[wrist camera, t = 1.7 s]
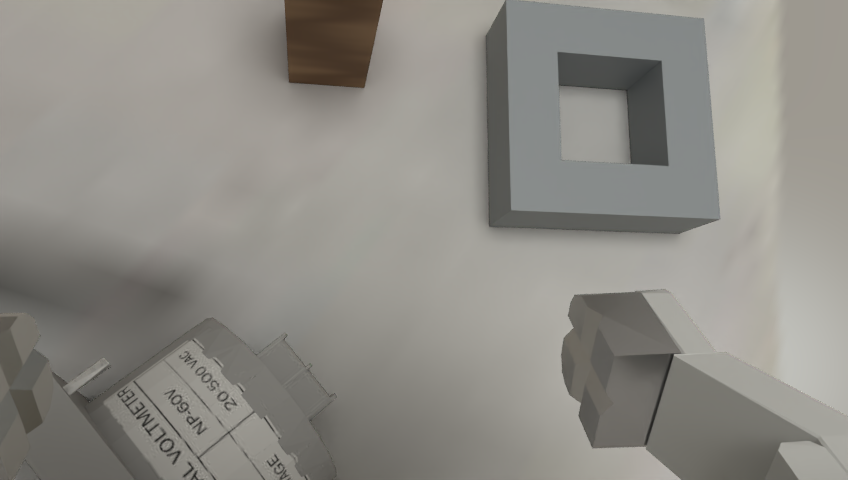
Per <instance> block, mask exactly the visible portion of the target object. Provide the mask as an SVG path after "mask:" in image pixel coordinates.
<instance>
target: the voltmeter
mask: <svg viewBox="0 0 848 480" xmlns="http://www.w3.org/2000/svg"><path fill="white" fill-rule="evenodd" d="M287 336H288V335H287V334H286V333H284V334H283V335H281V336H280V337H279V338H278V339H276V340H275V341H274V342H273V343H271V344H270V345H269V346H267V347H266V348H265V349H264V350H262V351H261V352H260V353H258V354H257V355H255V354H254V353H253V352H252V351H251V350H250V349H249V348H248V347H247V345H246V344H245V343H244V342H243V341H242V340H241V339H239V338H238V337H237V336H236V335H235V334H234V333H233V332H231V331H230V330H229V329H228V328H227V327H226V326H224V325H223V324H221V323H220V322H218V321H217V320H215V319H214V318H208V319H206V320H204V321H203V322H201V323H200V324H199V325H197V326H195V327H194V328H192V329H191V330H190V331H188V332H187V333H185V334H184V335H183V336H181V337H180V338H179V339H177V340H176V341H174V342H173V343H172V344H170V345H169V346H167V347H166V348H165V349H163V350H162V351H161V352H159V353H158V354H156V355H155V356H154V357H152V358H151V359H150V360H148V361H147V362H145V363H144V364H143V365H141V366H140V367H138V368H137V369H136V370H134V371H133V372H132V373H130V374H129V375H127V376H126V377H125V378H123V379H122V380H120V381H119V382H118V383H116V384H115V385H114V386H112V387H111V388H109V389H108V390H107V391H105V392H104V393H102V394H101V395H100V396H98V397H97V398H96V399H94V400H93V401H91V402H90V403H89V402H88V401H87V400H86V398H85V397H84V396H83V395H81V394H80V393H79V392H78V391H77V390H78V389H80V388H81V387H82V386H84V385H86V384H88V382H89V381H91V380H92V379H93V380H94V378H95V377H97V376H98V375H100V373H103V371H104V370H105V371H106V369H107V368H108V369H109V367H110V364H109V363H108V362H107V361H106V359H105V358H102V359H101V360H99V361H98V362H97V363H95V364H94V365H93V366H91V367H90V368H88V369H87V370H86V371H84V372H83V373H82V374H80V375H79V376H77V377H76V378H75V379H73V380H72V381H71V382H69V383H66V382H65V381H64V380H63V379H61V378H60V377H59V376H57V375H56V374H55V373H54V372H52V374H53V386H54V389H53V395H52V400H51V406H50V409H49V411H48V413H47V415H46V417H45V420H44V422H43V423H42V424H41V425H39V426H38V427H36V428H35V429H34V430H32V431H31V432H29V433H28V434H27V438H28V440H29V443H30V446H31V447H30V449H29V451H28V453H27V455H26V457H25V460H26V462H27V463H28V464H29V465H30V467H31V468H32V469H33V470H34V472H35V473H36V474H37V476H38V477H39V478H40V479H41V480H333V479H334V478H335V477H336V468H335V466H334V463H333V461H332V458H331V457H330V455H329V453H328V451H327V449H326V447H325V445H324V444H323V442H322V440H321V438H320V436H319V435H318V433H317V432H316V430H315V429H314V427H313V426H312V424H311V423H310V420H311V419H312V418H313V417H315V416H316V415H317V414H318V413H319V412H320V411H321V410H323V409H324V408H325V407H326V406H327V405H328V404H330V403H331V402H332V401H333V400H334V399H335V398H337V396H336V395H335V393H334V394H332V395H330V396H329V395H328V394H327V392H326V391H325V390H324V389H323V387H322V386H321V385H320V384H319V382H318V381H317V380H316V379H315V377H314V376H313V375H312V374H311V372H310V371H309V370H308V369H309V368H310V367H311V366H312V365H311V363H310V364H309V365H307V366H305V365H304V364H303V362H302V361H301V360H300V359H299V357H298V356H297V355H296V354H295V353H294V351H293V350H292V349H291V348H290V346H289V345H288V344H287V343H286V341H285V340H284V339H285V338H286V337H287ZM105 371H104V372H105Z"/></svg>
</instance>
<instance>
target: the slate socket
mask: <svg viewBox="0 0 848 480" xmlns="http://www.w3.org/2000/svg"><path fill="white" fill-rule="evenodd" d="M486 50H487V109H488V169H489V226H493V227H519V228H546V229H572V230H599V231H625V232H651V233H678V234H679V233H682V232H685V231H688V230H691V229H693V228H696V227H699V226H702V225H705V224H708V223H711V222H714V221H716V220H719V219H720V208H719V196H718V183H717V171H716V159H715V147H714V135H713V123H712V110H711V98H710V86H709V74H708V62H707V49H706V37H705V25H704V19H703V18H693V17H682V16H672V15H662V14H652V13H642V12H631V11H621V10H611V9H601V8H590V7H580V6H570V5H560V4H550V3H539V2H529V1H519V0H505V2H504V4H503V6H502V8H501V10H500V11H499V13H498V15H497V17H496V19H495V20H494V22H493V24H492V26H491V28H490V30H489V31H488V33H487V35H486ZM559 85H567V86H580V87H593V88H606V89H619V90H627V97H628V115H629V132H630V149H631V164H622V163H604V162H586V161H568V160H562V159H561V133H560V107H559Z"/></svg>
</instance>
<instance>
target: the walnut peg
mask: <svg viewBox="0 0 848 480" xmlns="http://www.w3.org/2000/svg"><path fill="white" fill-rule="evenodd" d="M382 3H383V0H285V18H286V35H287V53H288V71H289V82H291V83H305V84H318V85H332V86H346V87H360V88H364V87H365V82H366V77H367V73H368V68H369V64H370V59H371V54H372V50H373V45H374V40H375V36H376V31H377V26H378V22H379V17H380V12H381V8H382Z"/></svg>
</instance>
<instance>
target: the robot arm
mask: <svg viewBox="0 0 848 480" xmlns="http://www.w3.org/2000/svg"><path fill="white" fill-rule="evenodd" d="M568 317H569V319H570V321H571V323H572V325H573V327H574V328H573V329H572V330H571V331H570V332H569V333H568V334H567V335H566V336H565V337H564V340H563V347H562V353H561V358H562V373H563V377H564V381H565V385H566V387H567V390H568V392H569V395H570V396H572V397H573V398H575V399H576V400H577V401H579V402H580V403H581V406H580V411H579V418H580V421H581V423H582V425H583V427H584V430H585V432H586V434H587V437H588V439H589V441H590V444H591V446H592V448H615V447H644V446H646V450H648V451H649V452H650V453H651V454H652V455H653V456H655V457H656V458H657V459H658V460H659V461H660V462H662V463H663V464H664V465H665V466H666V467H667V468H669V469H670V470H671V471H672V472H673V473H674V474H675V475H677V476H678V477H679V478H680V479H681V480H848V416H847V415H844V414H843V413H841V412H839V411H837V410H835V409H833V408H831V407H830V406H827V405H826V404H824V403H821V402H820V401H818V400H816V399H814V398H812V397H811V396H809V395H807V394H805V393H803V392H801V391H799V390H797V389H795V388H793V387H791V386H790V385H788V384H786V383H784V382H782V381H780V380H778V379H776V378H774V377H773V376H771V375H769V374H767V373H765V372H763V371H761V370H759V369H757V368H755V367H754V366H752V365H750V364H748V363H746V362H744V361H742V360H740V359H738V358H736V357H735V356H733V355H731V354H729V353H727V352H716V351H715V349H714V348H713V347H712V345H711V344H710V343H709V341H708V340H707V339H706V337H705V336H704V335H703V333H702V332H701V331H700V330H699V328H698V327H697V326H696V324H695V323H694V322H693V320H692V319H691V318H690V316H689V315H688V314H687V312H686V311H685V310H684V308H683V307H682V306H681V304H680V303H679V302H678V301H677V299H676V298H675V297H674V295H673V294H672V293H671V292H669V291H667V290H665V289H661V290H646V291H635V292H625V293H603V294H580V295H574V297H573V299H572V301H571V303H570V308H569V313H568ZM40 336H41V335H40V333H39V330H38V327H37V325H36V322H35V319H34V317H32V316H30V315H29V314H27V313H0V480H14V479H15V477H16V475H17V473H18V471H19V469H20V467H21V465H22V463H23V461H24V459H25V457H26V455H27V453H28V451H29V449H30V447H31V446H30V443H29V440H28V438H27V434H28V433H29V432H31V431H32V430H34V429H35V428H36V427H38V426H39V425H41V424H42V423H43V422H44V420H45V417H46V415H47V413H48V411H49V409H50V406H51V400H52V395H53V389H54V386H53V374H52V370H51V367H50V363H49V360H48V359H47V358H46V357H44V356H43V355H42V354H40V353H39V352H38V351H37V350H35V349H34V346H35V345H36V343H37V341H38V340H39V338H40Z"/></svg>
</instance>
